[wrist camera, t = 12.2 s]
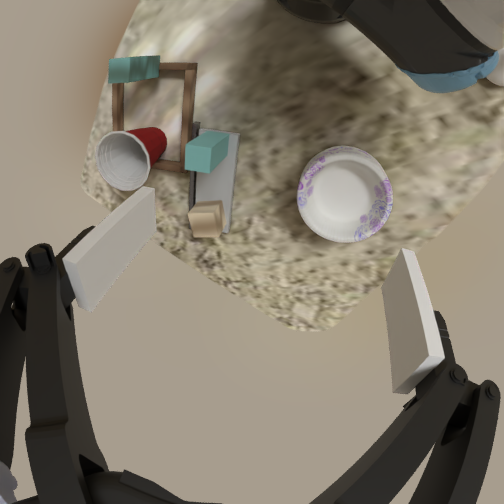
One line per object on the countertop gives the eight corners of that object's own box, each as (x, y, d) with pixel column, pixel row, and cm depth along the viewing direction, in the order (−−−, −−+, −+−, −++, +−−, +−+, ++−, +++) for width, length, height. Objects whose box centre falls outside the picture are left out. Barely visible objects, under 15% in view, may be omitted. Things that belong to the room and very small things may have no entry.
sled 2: (201, 128, 48) (176, 143, 40) (240, 133, 48) (221, 149, 40) (197, 222, 61) (176, 251, 53) (229, 230, 60) (213, 260, 52)
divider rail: (195, 121, 48) (192, 123, 47) (200, 122, 48) (196, 123, 47) (191, 224, 62) (189, 228, 60) (195, 225, 61) (192, 229, 60)
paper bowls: (299, 138, 46) (295, 151, 40) (388, 145, 43) (399, 159, 37) (299, 218, 55) (296, 241, 49) (379, 223, 52) (385, 247, 46)
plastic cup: (164, 177, 56) (132, 204, 47) (125, 148, 54) (88, 170, 45) (190, 135, 50) (158, 155, 40) (146, 104, 48) (107, 118, 38)
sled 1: (119, 58, 42) (80, 63, 34) (198, 55, 41) (167, 55, 32) (120, 159, 55) (87, 180, 47) (190, 169, 54) (163, 193, 45)
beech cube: (197, 201, 56) (187, 213, 52) (222, 200, 55) (213, 212, 51) (203, 223, 59) (193, 237, 55) (226, 223, 58) (218, 237, 54)
